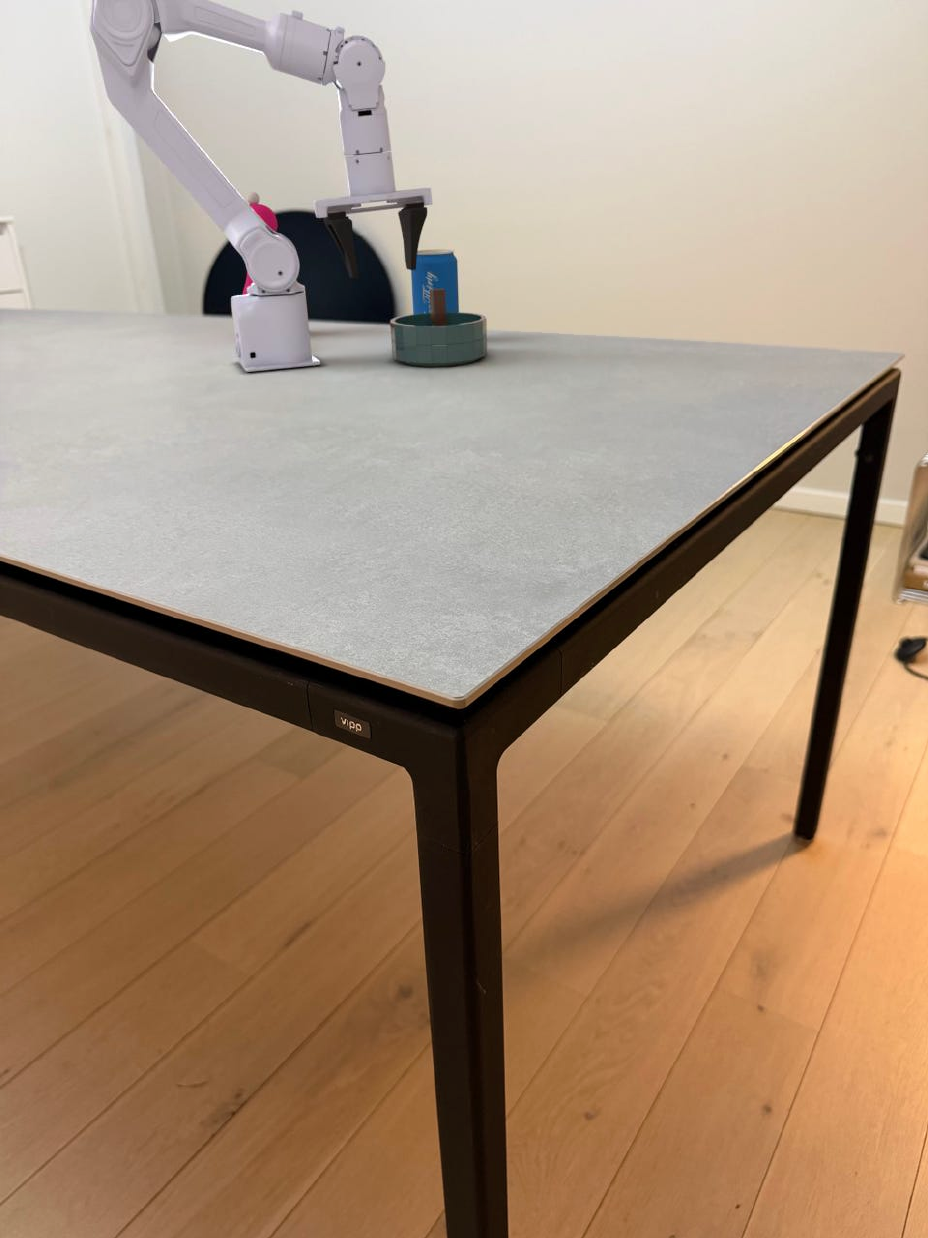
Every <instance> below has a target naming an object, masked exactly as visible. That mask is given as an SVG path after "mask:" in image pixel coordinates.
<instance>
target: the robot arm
mask: <svg viewBox="0 0 928 1238" xmlns="http://www.w3.org/2000/svg"><path fill="white" fill-rule="evenodd" d="M303 16H304V13H303V12H302V11H298V10H295V9H292V10H291V11H290V14H287V13H284V12H279V13H278V14H276V15H274V16H273V17H272V18H270V19H269V20H264V19H261V18H258V17H255V16H252V15H250V14H247V13H244V12H242V11H239V10H236V9H233V8H231V7H227V6H225V5H222V4H220V3H217V2H215V1H211V0H91V4H90V16H89V32H90V34H91V35H90V36H91V37H92V40H93V42H94V47H95V51H96V54H97V58H98V63H99V67H100V72H101V77H102V80H103V85H104V88H105V93H106V96H107V98H108V100H109V102H110V103H111V105H112V106H113V107H114V109H115V110H116V111H117V112H118V113H119V114H120V115H121V117H122V118H123V119H124V120H125V121H126V123H128V125H129V126H130V127H131V128H132V129H133V130H134V132H136V134H137V135H138V136H139V137H140V138H141V139H142V141H143V142H144V143H145V144H146V145H147V146H148V148H149V149H150V150H151V151H152V152H153V153H154V154H155V156H156V157H157V158H158V159H159V160H160V161H161V163H162V164H163V165H164V166H165V167H166V168H167V169H168V171H169V172H170V173H171V174H172V175H173V176H174V177H175V179H177V181H178V183H180V184H181V185H182V187H183V188H184V189H185V190H186V191H187V193H188V194H189V195H190V196H191V197H192V198H193V199H194V200H195V202H196V203H197V204H198V205H199V206H200V207H201V208H202V209H203V211H204V212H205V213H206V214H207V215H208V217H209V218H210V219H211V220H212V221H213V222H214V224H215V225H216V226H217V227H218V228H219V229H220V231H221V232H222V233H223V234H224V235H225V237H226V238H227V240H228V241H229V242H230V244H231V246H232V247H233V248H234V249H235V251H236V252H238V254H239V255H240V256H241V258H242V261H244V264H245V268H246V272H247V271H248V274H249V276H250V278H251V279H252V281H253V283H252V284H251V286H248V287H247V293H248V294H246V295H243V294H240V295H239V294H237V295H233V296H231V298H230V307H231V316H232V324H233V331H234V339H235V343H234V344H235V345H234V346H235V353H236V357H237V362H238V364H239V365H240V366H241V367H242V369H243V370H244V371H245V372H246V373H247V372H259V371H260V372H261V371H270V370H271V371H272V370H281V369H291V368H292V369H293V368H300V367H310V366H320V365H321V361H320V360H319V359H318V358H317V357H316V356H314V355H313V353H312V343H311V334H310V325H309V314H308V304H307V296H306V295H307V294H306V285H304V284H302V283H300V282H298V281H297V278H298V277H299V272H300V259H299V256H298V252H297V250H296V247H295V245H294V243H293V242H292V241H291V240H290V239H289V238H288V237H287V236H285V235H284V234H282V233H279V232H277V231H276V232H275V231H273V230H272V229H271V228H269V227H268V226H267V224H266V223H265V222H264V221H263V220H262V219H261V217H260V216H259V215H258V214H257V213H256V212H255V211H254V210H253V209H252V208H251V206H250V205H249V203H248V201H247V200H246V199H245V198H244V197H243V195H241V193H240V192H239V191H238V190H237V188H236V187H235V186H234V185H233V184H232V183H231V181H230V180H229V179H228V178H227V177H226V175H225V174H224V173H223V172H222V171H221V169H220V168H219V166H217V164H215V162H214V161H213V160H212V159H211V158H210V156H209V155H208V154H207V153H206V152H205V150H204V149H203V148H202V147H201V146H200V144H199V143H198V142H197V141H196V140H195V139H194V137H193V136H192V135H191V134H190V133H189V131H188V130H187V129H186V127H184V126H183V124H182V123H181V122H180V121H179V120H178V118H177V117H176V116H175V115H174V114H173V113H172V111H171V110H170V109H169V107H167V105H166V104H165V103H164V101H163V100H162V99H161V98H160V97H159V96H158V94H157V93H156V92H155V89H154V84H155V83H154V82H155V62H154V61H155V58H156V56H157V53H158V50H159V47H160V44H161V42H162V37H163V35H164V37H165V38H166V40H167V41H168V42H174V41H178V40H179V39H182V38H184V37H187V36H189V35H196V36H200V37H202V38H206V39H210V40H214V41H218V42H221V43H225V44H229V45H233V46H235V47H239V48H243V49H247V50H250V51H253V52H257V53H261V54H262V55H263V57H264V58H265V60H266V61H267V63H268V65H269V67H270V69H272V70H273V71H276V72H280V73H283V74H286V75H290V76H291V77H292V76H293V77H294V78H295V77H296V78H298V79H302V80H305V81H309V82H311V83H315V84H318V85H322V86H325V87H326V86H327V85H329V84H333V85H334V87H335V88H336V89H337V98H338V104H339V113H338V120H339V126H340V134H341V141H342V142H341V143H342V148H343V156H344V163H345V164H344V165H345V171H346V179H347V187H348V194H349V196H341V197H332V198H325V199H316V200H313V207H314V212H315V217H316V218H317V219H322V218H323V222H324V224H325V227H326V228H327V230H328V231H329V233H330V235H331V236H332V238H333V240H334V242H335V244H336V245H337V247H338V249H339V252H340V254H341V256H342V259H343V261H344V264H345V267H346V270H347V273H348V277H349V278H351V279H356V278H357V279H358V278H359V268H358V264H357V259H356V252H355V245H354V233H353V231H354V230H353V220H352V219H350V218H349V216H347V215H353V214H360V213H369V212H378V211H385V210H394V209H395V210H396V209H401V210H399V211H398V212H397V216H398V220H399V224H400V228H401V229H400V230H401V234H402V240H403V250H404V261H405V267H406V268H405V269H406V270H409V271H411V270H415V269H416V260H417V251H419V245H420V240H421V235H422V232H423V228H424V226H425V222H426V220H427V217H428V207H427V206H432V205H433V195H432V188H431V187H421V188H412V189H403V190H402V189H401V190H396V188H397V187H396V179H395V172H394V171H395V170H394V163H393V162H394V161H393V153H392V144H391V136H390V128H389V119H388V111H387V108H386V105H385V92H384V89H383V84H382V82H383V81H384V80H383V79H384V77H385V72H386V61H385V60H384V59H383V55H382V52H381V51H380V49H379V47H378V46H377V45H376V44H375V43H374V42H373V41H372V40H371V39H369V38H368V37H366V36H364V35H352V36H347V37H346V38H345V31H346V29H345V28H344V27H342V26H340V25H336V26H335V29H333V28H330V27H328V26H327V27H326V26H324V25H321V24H318V23H315V22H312V21H308V20H305V19H303V18H304V17H303ZM379 202H386V203H387V204H383V205H375V206H367V207H362V204H368V203H379Z"/></svg>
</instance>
